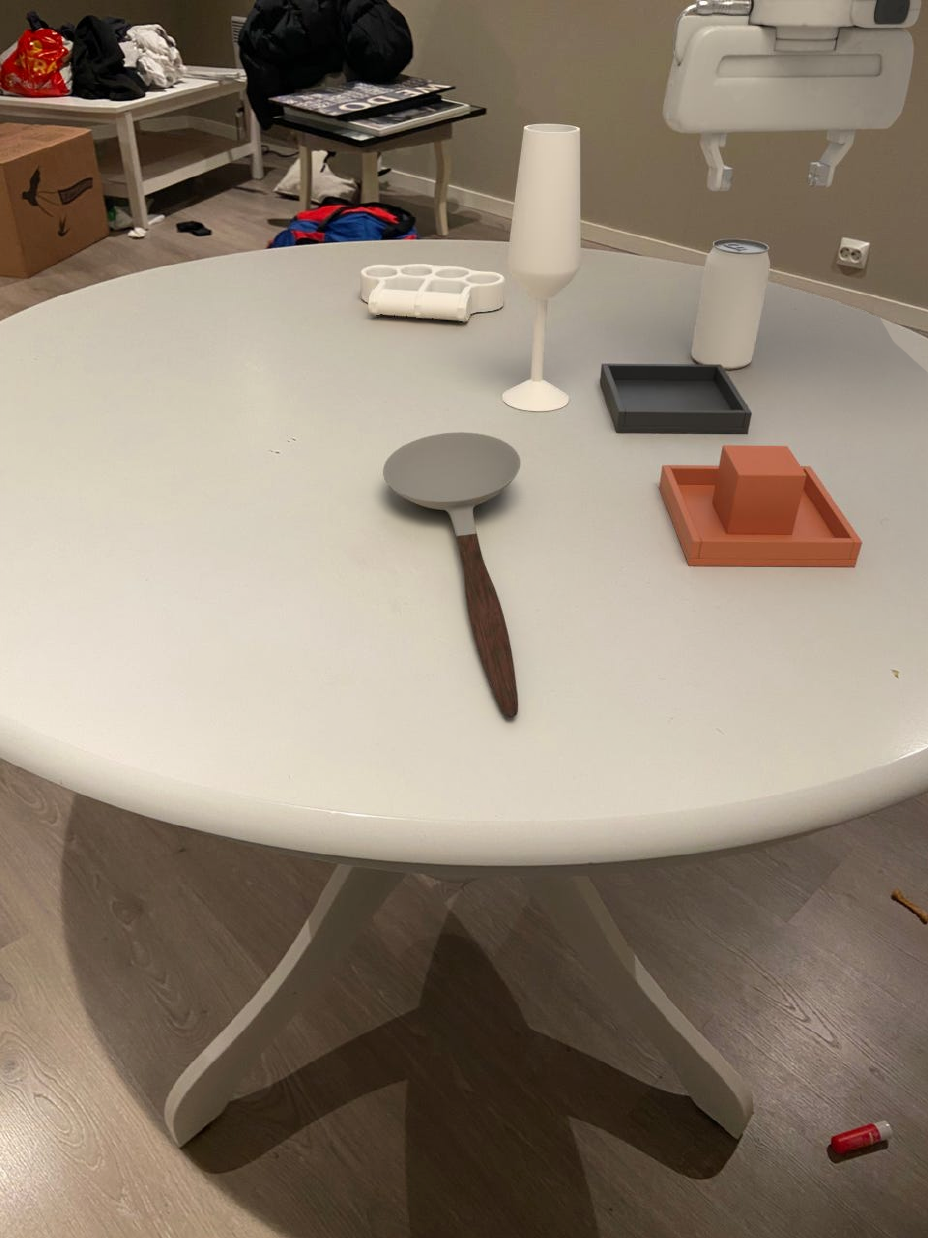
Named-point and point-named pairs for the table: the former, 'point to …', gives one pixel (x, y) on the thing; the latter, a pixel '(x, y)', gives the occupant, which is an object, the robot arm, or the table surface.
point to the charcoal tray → (673, 399)
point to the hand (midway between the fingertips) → (768, 187)
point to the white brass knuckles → (430, 290)
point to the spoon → (465, 528)
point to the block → (758, 489)
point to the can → (731, 303)
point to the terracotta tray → (706, 542)
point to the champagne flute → (545, 242)
